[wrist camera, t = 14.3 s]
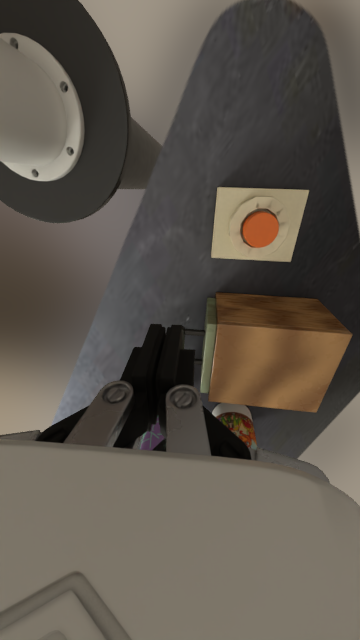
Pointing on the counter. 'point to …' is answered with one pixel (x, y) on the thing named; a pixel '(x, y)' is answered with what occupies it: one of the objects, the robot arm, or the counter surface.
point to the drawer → (205, 343)
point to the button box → (246, 201)
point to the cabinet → (274, 351)
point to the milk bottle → (237, 421)
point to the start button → (260, 229)
